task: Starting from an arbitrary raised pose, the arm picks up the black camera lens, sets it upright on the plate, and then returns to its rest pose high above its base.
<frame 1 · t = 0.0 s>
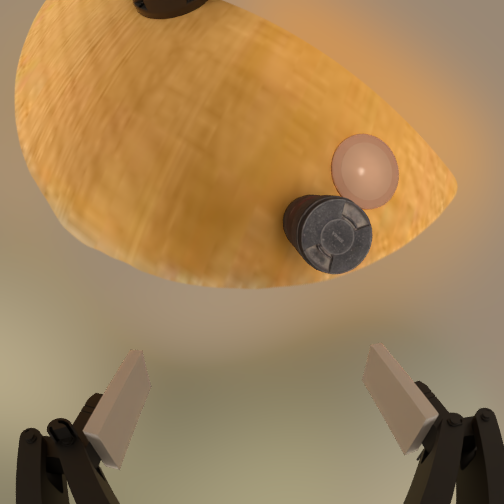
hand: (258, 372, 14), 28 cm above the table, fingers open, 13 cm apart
plate: (366, 171, 39), on the table
camera lens: (305, 219, 41), on the table
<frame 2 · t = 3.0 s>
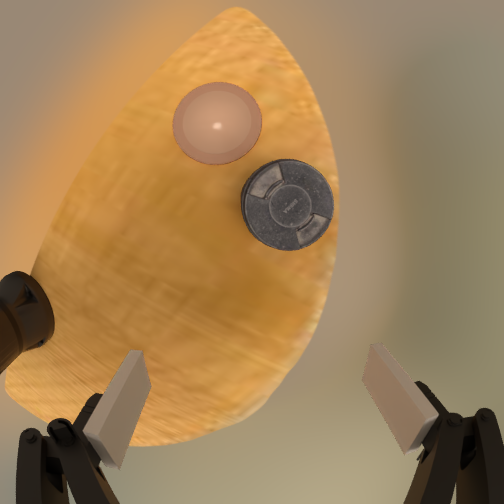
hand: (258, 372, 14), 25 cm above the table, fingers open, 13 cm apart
plate: (216, 122, 34), on the table
camera lens: (268, 198, 37), on the table
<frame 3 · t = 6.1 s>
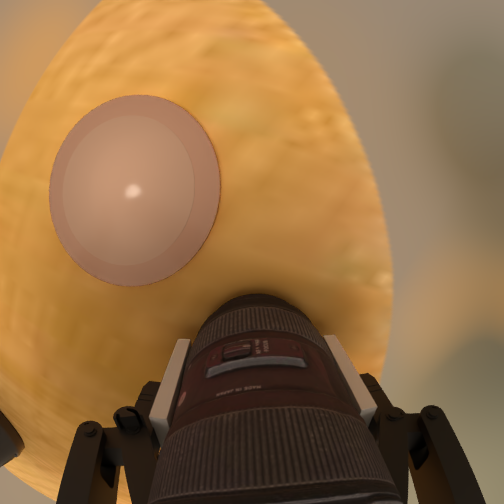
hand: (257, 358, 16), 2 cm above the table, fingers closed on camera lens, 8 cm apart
plate: (124, 189, 15), on the table
camera lens: (255, 337, 18), on the table, touching gripper
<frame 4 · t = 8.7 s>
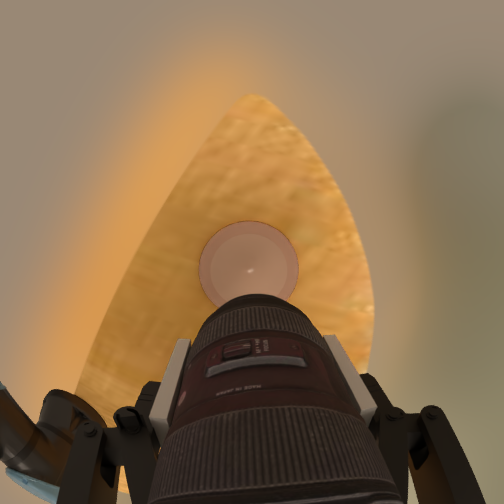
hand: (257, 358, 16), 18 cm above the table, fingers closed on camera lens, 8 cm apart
plate: (248, 270, 33), on the table
camera lens: (255, 337, 18), point 16 cm above the table, touching gripper
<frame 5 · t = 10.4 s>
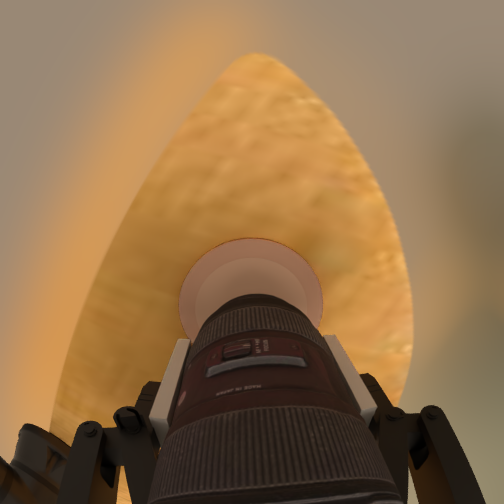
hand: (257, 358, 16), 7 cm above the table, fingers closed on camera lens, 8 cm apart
plate: (251, 309, 23), on the table
camera lens: (255, 337, 18), point 5 cm above the table, touching gripper
when the fingers open (4 cm above the table, at t = 11.5 s): camera lens drops 1 cm, resting on plate.
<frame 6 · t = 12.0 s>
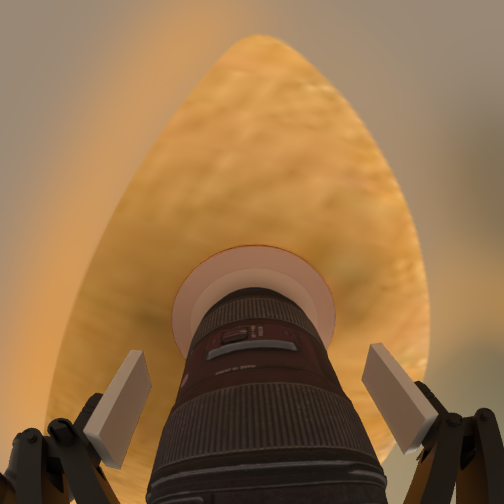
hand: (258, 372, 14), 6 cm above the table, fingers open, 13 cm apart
plate: (254, 325, 20), on the table
camera lens: (253, 328, 19), point 1 cm above the table, touching plate
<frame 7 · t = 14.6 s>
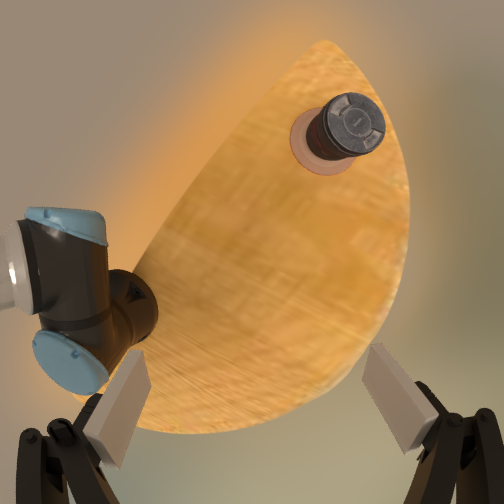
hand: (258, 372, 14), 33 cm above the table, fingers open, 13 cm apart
plate: (324, 141, 43), on the table
camera lens: (325, 140, 42), point 1 cm above the table, touching plate
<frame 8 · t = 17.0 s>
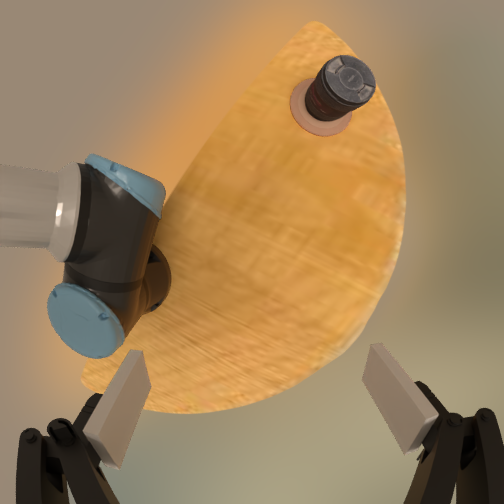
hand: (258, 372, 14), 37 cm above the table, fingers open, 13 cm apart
plate: (321, 106, 44), on the table
camera lens: (321, 105, 44), point 1 cm above the table, touching plate
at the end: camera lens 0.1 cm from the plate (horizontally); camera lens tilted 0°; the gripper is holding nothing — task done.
